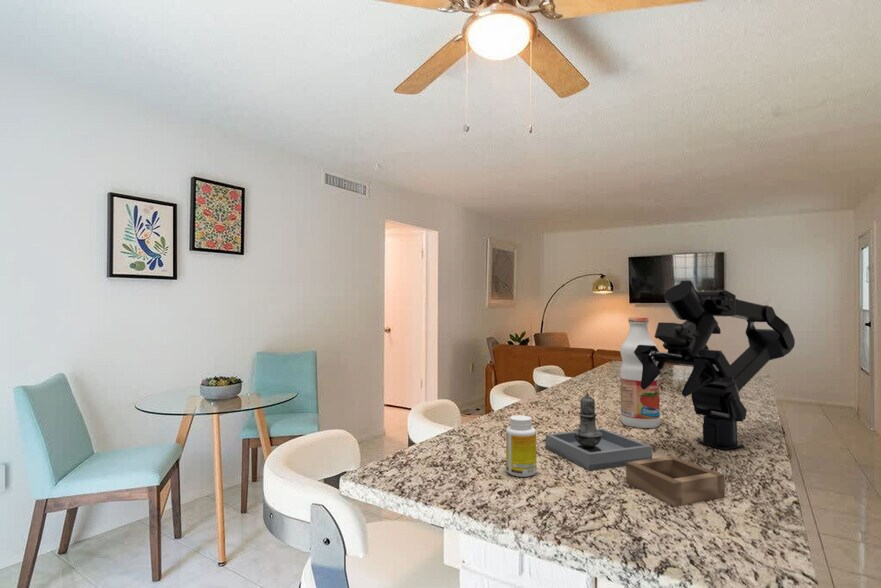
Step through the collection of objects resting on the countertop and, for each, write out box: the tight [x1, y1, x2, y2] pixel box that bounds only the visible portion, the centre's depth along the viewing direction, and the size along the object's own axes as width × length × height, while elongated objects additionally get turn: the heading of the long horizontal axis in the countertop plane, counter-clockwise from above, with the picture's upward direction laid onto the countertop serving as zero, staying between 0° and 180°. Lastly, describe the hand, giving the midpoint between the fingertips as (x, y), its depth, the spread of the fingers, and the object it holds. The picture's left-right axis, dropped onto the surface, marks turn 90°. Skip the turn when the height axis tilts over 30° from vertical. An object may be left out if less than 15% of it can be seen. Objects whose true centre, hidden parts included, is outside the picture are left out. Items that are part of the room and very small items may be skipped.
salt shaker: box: [572, 392, 603, 452], centre depth 98 cm, size 6×6×12 cm
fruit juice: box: [619, 316, 661, 429], centre depth 123 cm, size 9×9×28 cm
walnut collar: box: [625, 455, 726, 507], centre depth 79 cm, size 10×10×4 cm
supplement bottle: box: [505, 414, 537, 478], centre depth 87 cm, size 6×6×10 cm
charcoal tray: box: [545, 427, 653, 471], centre depth 98 cm, size 15×15×3 cm
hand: (662, 391), depth 95 cm, fingers open, 9 cm apart
